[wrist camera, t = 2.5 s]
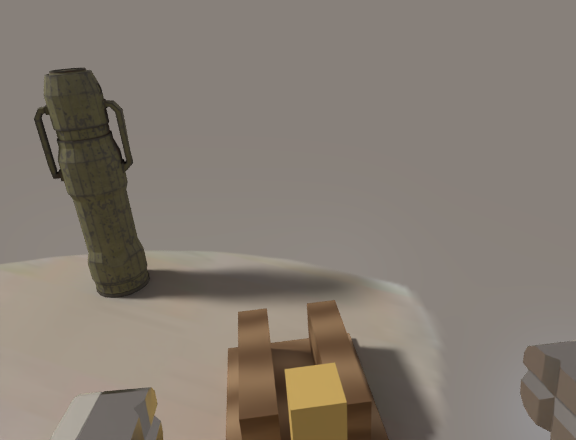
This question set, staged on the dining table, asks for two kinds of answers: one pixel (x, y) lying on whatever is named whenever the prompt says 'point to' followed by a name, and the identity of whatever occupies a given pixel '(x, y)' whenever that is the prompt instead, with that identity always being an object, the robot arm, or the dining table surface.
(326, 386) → the yellow tall bar
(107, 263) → the thermos
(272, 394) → the rack
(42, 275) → the dining table surface
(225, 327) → the dining table surface
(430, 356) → the dining table surface
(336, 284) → the dining table surface
